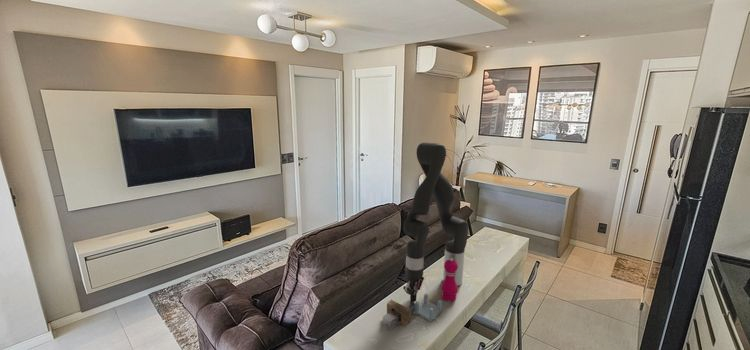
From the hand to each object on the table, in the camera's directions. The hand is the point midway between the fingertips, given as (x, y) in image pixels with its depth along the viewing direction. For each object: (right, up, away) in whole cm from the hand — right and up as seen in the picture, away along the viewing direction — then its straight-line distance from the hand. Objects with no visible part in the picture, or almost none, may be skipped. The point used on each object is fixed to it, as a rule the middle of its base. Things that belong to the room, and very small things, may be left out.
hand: (413, 300), depth 137 cm
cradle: (+6, -3, -3) cm, 8 cm away
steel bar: (-6, -5, -7) cm, 10 cm away
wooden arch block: (-7, -4, -7) cm, 11 cm away
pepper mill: (+17, -1, +7) cm, 19 cm away
